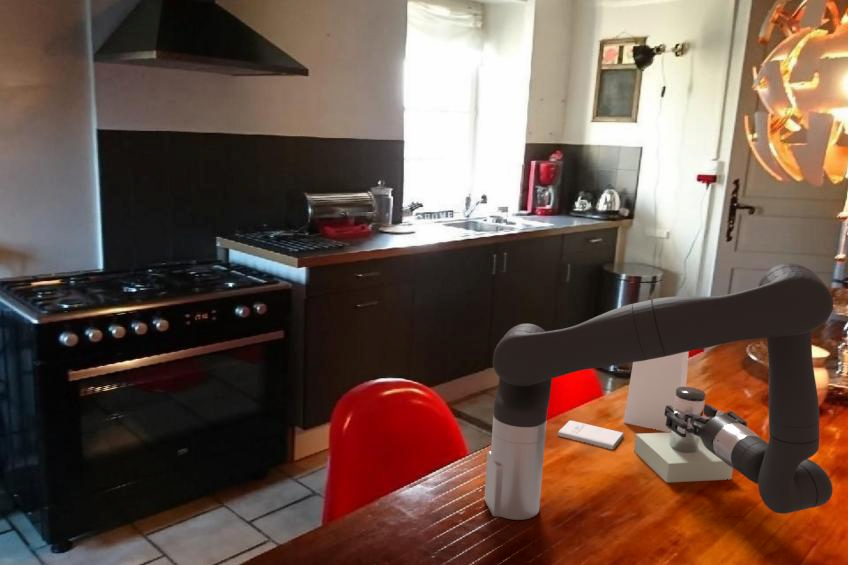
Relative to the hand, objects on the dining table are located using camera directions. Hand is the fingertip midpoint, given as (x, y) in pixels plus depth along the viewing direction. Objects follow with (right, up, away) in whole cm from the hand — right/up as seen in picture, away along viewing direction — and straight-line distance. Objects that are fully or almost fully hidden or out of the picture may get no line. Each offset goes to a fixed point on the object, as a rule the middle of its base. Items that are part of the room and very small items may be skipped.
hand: (686, 409), depth 145 cm
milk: (+2, -7, +25) cm, 26 cm away
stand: (0, -12, +2) cm, 12 cm away
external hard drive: (-16, -9, +14) cm, 24 cm away
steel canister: (0, -8, +1) cm, 8 cm away
